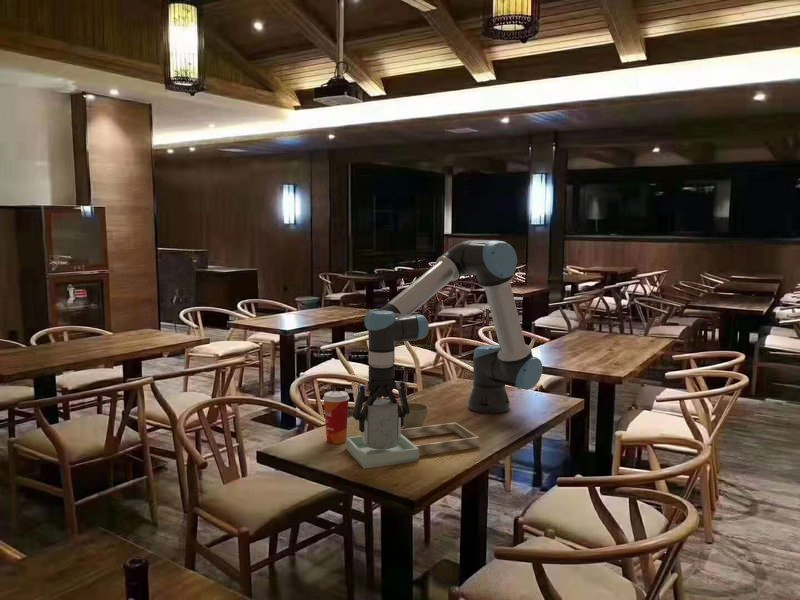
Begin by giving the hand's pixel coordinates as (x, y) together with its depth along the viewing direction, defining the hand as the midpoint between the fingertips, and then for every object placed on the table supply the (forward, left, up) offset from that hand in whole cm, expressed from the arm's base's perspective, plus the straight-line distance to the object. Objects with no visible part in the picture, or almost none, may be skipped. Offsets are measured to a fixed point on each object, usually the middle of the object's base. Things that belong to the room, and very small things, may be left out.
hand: (381, 439), depth 184 cm
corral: (-19, -3, -4) cm, 20 cm away
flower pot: (-18, -19, -5) cm, 27 cm away
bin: (0, 0, -4) cm, 4 cm away
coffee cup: (+9, -16, -5) cm, 19 cm away
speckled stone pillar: (0, 0, -1) cm, 1 cm away
